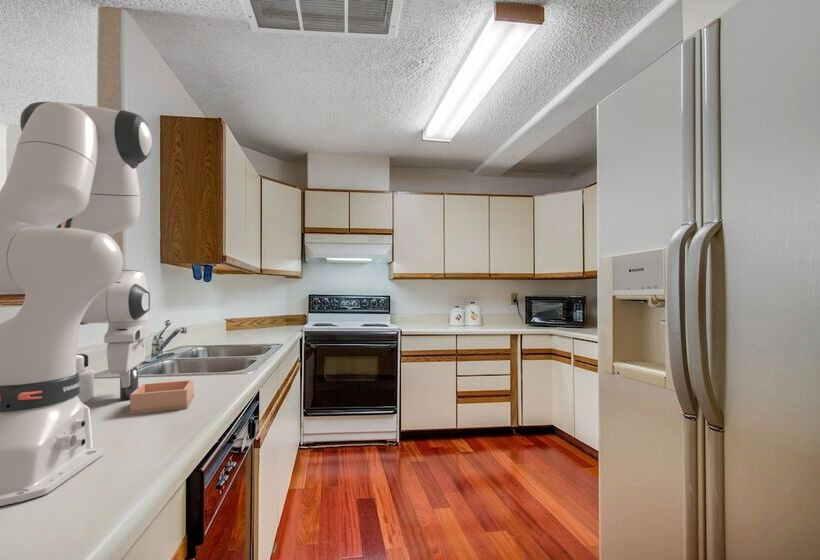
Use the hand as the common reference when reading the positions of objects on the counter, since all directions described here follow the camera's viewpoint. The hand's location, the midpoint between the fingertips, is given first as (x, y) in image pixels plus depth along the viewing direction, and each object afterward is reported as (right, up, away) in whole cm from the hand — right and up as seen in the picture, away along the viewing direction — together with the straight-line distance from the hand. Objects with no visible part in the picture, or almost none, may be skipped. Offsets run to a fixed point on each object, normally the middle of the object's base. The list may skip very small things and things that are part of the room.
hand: (129, 384), depth 110 cm
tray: (+13, -3, -7) cm, 15 cm away
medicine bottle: (-13, -4, -2) cm, 14 cm away
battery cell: (0, -4, 0) cm, 4 cm away
